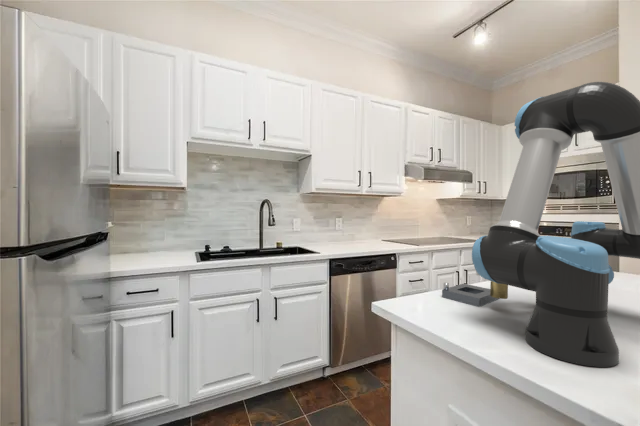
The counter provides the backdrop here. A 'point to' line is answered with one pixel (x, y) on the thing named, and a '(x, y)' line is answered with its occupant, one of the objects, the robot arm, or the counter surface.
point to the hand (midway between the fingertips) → (482, 272)
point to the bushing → (498, 290)
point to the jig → (468, 294)
